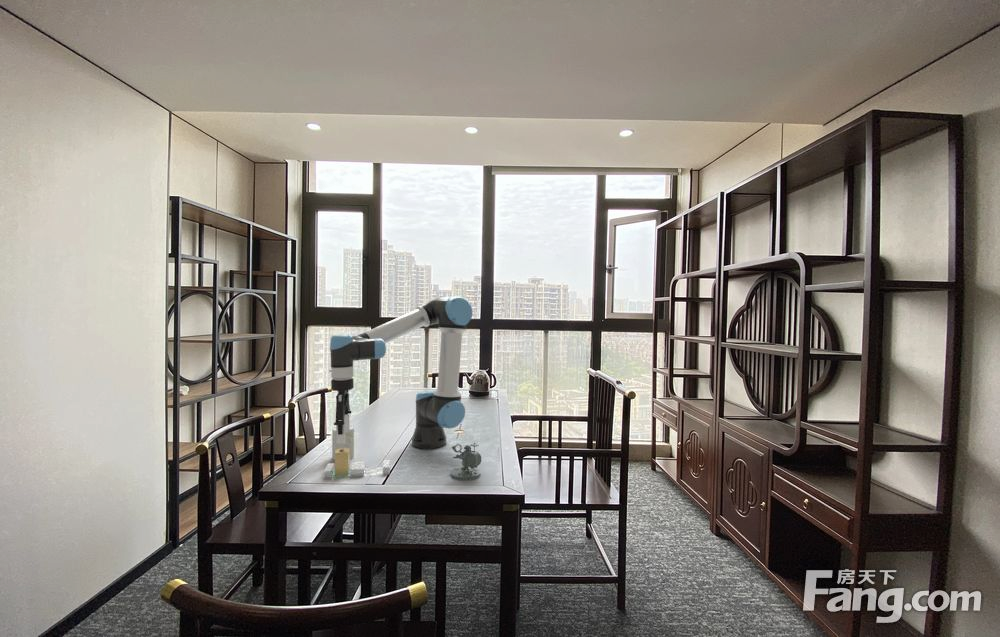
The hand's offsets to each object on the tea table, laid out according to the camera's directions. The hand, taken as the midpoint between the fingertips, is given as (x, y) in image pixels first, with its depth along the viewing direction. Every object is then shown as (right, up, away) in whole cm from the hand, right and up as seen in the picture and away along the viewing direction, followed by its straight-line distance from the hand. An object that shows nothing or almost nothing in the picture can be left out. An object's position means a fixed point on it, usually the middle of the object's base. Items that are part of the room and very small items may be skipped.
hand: (343, 437), depth 161 cm
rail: (+5, -13, +1) cm, 14 cm away
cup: (-6, -13, +17) cm, 22 cm away
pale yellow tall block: (0, -13, 0) cm, 13 cm away
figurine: (+44, -14, +1) cm, 46 cm away
